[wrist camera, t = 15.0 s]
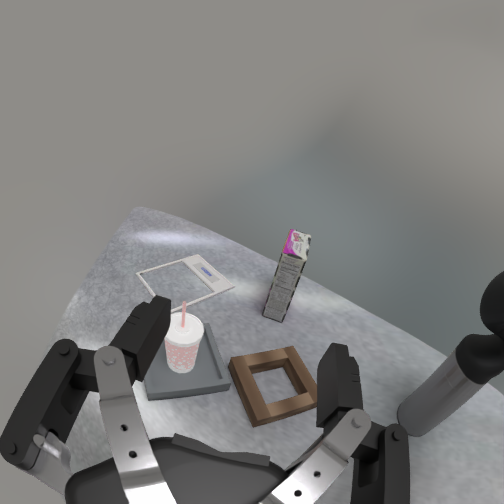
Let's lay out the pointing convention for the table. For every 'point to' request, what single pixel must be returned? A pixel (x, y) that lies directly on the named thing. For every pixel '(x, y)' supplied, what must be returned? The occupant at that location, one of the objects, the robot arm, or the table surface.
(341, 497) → the table surface
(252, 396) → the socket block
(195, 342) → the beverage cup
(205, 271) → the photo frame
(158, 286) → the table surface
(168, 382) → the tray
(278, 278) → the candy bar box
